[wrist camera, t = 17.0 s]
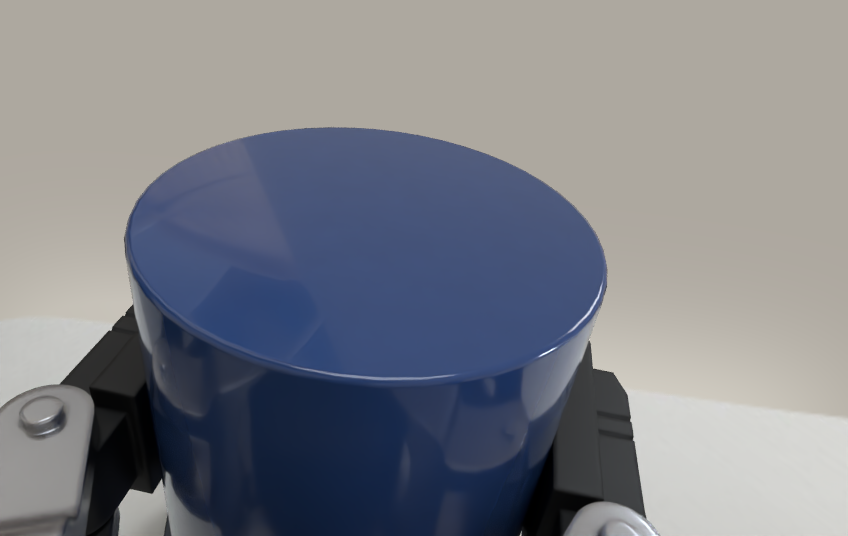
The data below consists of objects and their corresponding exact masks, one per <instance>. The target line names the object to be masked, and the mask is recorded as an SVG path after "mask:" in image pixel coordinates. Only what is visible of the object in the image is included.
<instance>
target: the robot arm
mask: <svg viewBox="0 0 848 536" xmlns="http://www.w3.org/2000/svg"><path fill="white" fill-rule="evenodd" d="M630 418H631V416H630V409H629V402H628V396H627V393H626V392H625V390H624V389H623V387H622V386H621V384H620V383H619V381H618V380H617V378H616V376H615V375H614V373H612V372H607V371H602V370H597V369H593V366H592V354H591V344H590V341H588V344H587V347H586V350H585V353H584V356H583V358H582V361H581V364H580V367H579V370H578V372H577V375H576V378H575V381H574V384H573V387H572V389H571V392H570V395H569V398H568V401H567V403H566V406H565V409H564V412H563V415H562V418H561V420H560V423H559V426H558V429H557V432H556V435H555V437H554V440H553V443H552V446H551V449H550V451H549V454H548V457H547V460H546V463H545V466H544V468H543V471H542V474H541V477H540V480H539V483H538V485H537V488H536V491H535V494H534V497H533V499H532V502H531V505H530V508H529V511H528V514H527V516H526V519H525V522H524V525H523V528H522V536H660V535H659V533H658V532H657V530H656V529H655V528H654V527H653V525H652V524H651V523H650V522H649V521H648V520H647V519H646V515H645V510H644V504H643V497H642V490H641V483H640V477H639V470H638V463H637V456H636V450H635V443H634V441H633V437H634V436H633V429H632V423H631V422H630ZM161 479H162V475H161V469H160V463H159V457H158V451H157V445H156V438H155V432H154V426H153V420H152V414H151V408H150V402H149V396H148V390H147V384H146V378H145V372H144V366H143V360H142V354H141V347H140V341H139V335H138V329H137V323H136V317H135V311H134V305H132V306H131V307H130V308H129V309H128V310H127V312H126V315H125V316H122V317H121V318H120V319H119V320H118V321H117V322H116V323H115V325H114V326H113V327H112V331H108V332H107V333H106V334H105V335H104V336H103V338H102V339H101V340H100V341H99V342H98V343H97V344H96V345H95V346H94V347H93V348H92V350H91V351H90V352H89V353H88V354H87V355H86V356H85V357H84V358H83V359H82V360H81V362H80V363H79V364H78V365H77V366H76V367H75V368H74V369H73V370H72V371H71V372H70V373H69V375H68V376H67V377H66V378H65V379H64V380H63V381H62V382H61V383H60V384H59V385H47V386H42V387H38V388H34V389H31V390H29V391H26V392H24V393H22V394H20V395H18V396H16V397H14V398H13V399H11V400H10V401H8V402H7V403H6V404H5V405H3V406H2V407H1V408H0V536H118V532H119V521H120V512H119V508H118V506H119V504H120V503H121V501H122V500H123V498H124V497H125V495H126V494H127V492H128V491H129V489H133V490H138V491H142V492H147V493H151V494H152V493H153V492H154V490H155V489H156V487H157V485H158V484H159V482H160V481H161Z"/></svg>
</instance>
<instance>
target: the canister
mask: <svg viewBox="0 0 848 536" xmlns="http://www.w3.org/2000/svg"><path fill="white" fill-rule="evenodd" d="M124 242H125V255H126V262H127V268H128V275H129V281H130V287H131V293H132V299H133V305H134V311H135V317H136V323H137V329H138V335H139V341H140V347H141V354H142V360H143V366H144V372H145V378H146V384H147V390H148V396H149V402H150V408H151V414H152V420H153V426H154V432H155V438H156V445H157V451H158V457H159V463H160V469H161V475H162V481H163V487H164V493H165V499H166V505H167V511H168V517H169V523H170V529H171V536H520V533H521V531H522V528H523V525H524V522H525V519H526V516H527V514H528V511H529V508H530V505H531V502H532V499H533V497H534V494H535V491H536V488H537V485H538V483H539V480H540V477H541V474H542V471H543V468H544V466H545V463H546V460H547V457H548V454H549V451H550V449H551V446H552V443H553V440H554V437H555V435H556V432H557V429H558V426H559V423H560V420H561V418H562V415H563V412H564V409H565V406H566V403H567V401H568V398H569V395H570V392H571V389H572V387H573V384H574V381H575V378H576V375H577V372H578V370H579V367H580V364H581V361H582V358H583V356H584V353H585V350H586V347H587V344H588V341H589V338H590V335H591V333H592V330H593V327H594V324H595V321H596V319H597V316H598V313H599V310H600V308H601V305H602V301H603V297H604V295H605V291H606V288H607V265H606V260H605V256H604V251H603V248H602V246H601V244H600V241H599V239H598V237H597V235H596V233H595V231H594V230H593V229H592V227H591V226H590V224H589V223H588V221H587V220H586V218H584V216H583V215H582V214H581V213H580V212H579V211H578V210H577V209H576V208H575V206H574V205H572V204H571V203H570V202H569V201H568V200H567V199H566V198H564V197H563V196H562V195H561V194H560V193H558V192H557V191H555V190H554V189H553V188H551V187H550V186H548V185H547V184H546V183H544V182H543V181H541V180H539V179H537V178H536V177H534V176H532V175H531V174H529V173H527V172H526V171H523V170H521V169H519V168H517V167H515V166H513V165H511V164H509V163H507V162H505V161H502V160H500V159H497V158H495V157H493V156H490V155H487V154H485V153H482V152H479V151H476V150H473V149H470V148H467V147H464V146H461V145H457V144H454V143H449V142H446V141H443V140H438V139H433V138H429V137H424V136H419V135H413V134H408V133H402V132H394V131H385V130H376V129H363V128H329V127H328V128H304V129H294V130H283V131H277V132H270V133H264V134H258V135H254V136H249V137H245V138H240V139H236V140H233V141H230V142H226V143H223V144H220V145H216V146H214V147H211V148H209V149H206V150H204V151H201V152H199V153H196V154H195V155H192V156H191V157H189V158H187V159H185V160H183V161H181V162H179V163H177V164H176V165H174V166H173V167H171V168H170V169H168V170H167V171H165V172H164V173H162V174H161V175H160V176H159V177H158V178H157V179H156V180H155V181H153V182H152V183H151V184H150V185H149V186H148V187H147V188H146V190H145V191H144V192H143V193H142V195H141V196H140V197H139V199H138V200H137V202H136V204H135V206H134V208H133V210H132V212H131V214H130V217H129V219H128V223H127V227H126V232H125V237H124Z"/></svg>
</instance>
